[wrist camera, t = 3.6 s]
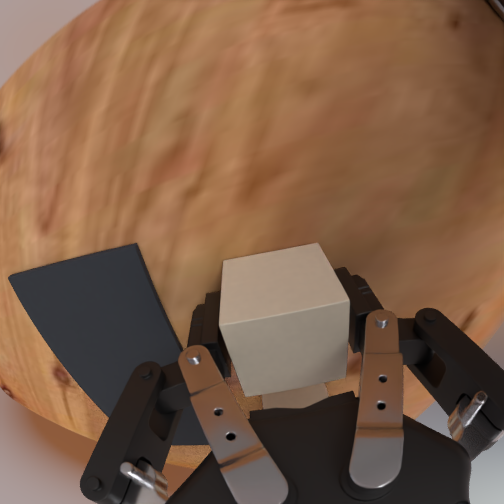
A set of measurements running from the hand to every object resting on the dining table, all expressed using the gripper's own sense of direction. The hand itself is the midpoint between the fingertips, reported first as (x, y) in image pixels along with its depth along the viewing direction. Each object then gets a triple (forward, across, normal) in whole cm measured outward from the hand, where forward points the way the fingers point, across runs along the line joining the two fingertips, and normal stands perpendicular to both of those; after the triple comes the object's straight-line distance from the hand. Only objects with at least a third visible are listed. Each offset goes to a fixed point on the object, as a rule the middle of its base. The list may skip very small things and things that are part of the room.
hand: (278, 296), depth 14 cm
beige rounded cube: (0, 0, 0) cm, 0 cm away
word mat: (0, +11, +6) cm, 13 cm away
